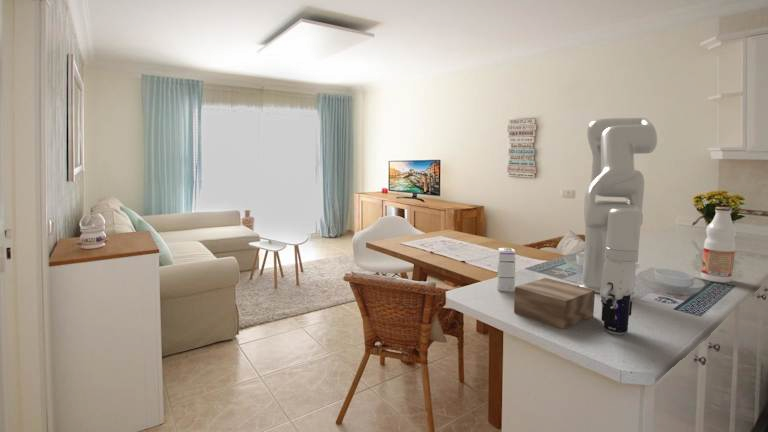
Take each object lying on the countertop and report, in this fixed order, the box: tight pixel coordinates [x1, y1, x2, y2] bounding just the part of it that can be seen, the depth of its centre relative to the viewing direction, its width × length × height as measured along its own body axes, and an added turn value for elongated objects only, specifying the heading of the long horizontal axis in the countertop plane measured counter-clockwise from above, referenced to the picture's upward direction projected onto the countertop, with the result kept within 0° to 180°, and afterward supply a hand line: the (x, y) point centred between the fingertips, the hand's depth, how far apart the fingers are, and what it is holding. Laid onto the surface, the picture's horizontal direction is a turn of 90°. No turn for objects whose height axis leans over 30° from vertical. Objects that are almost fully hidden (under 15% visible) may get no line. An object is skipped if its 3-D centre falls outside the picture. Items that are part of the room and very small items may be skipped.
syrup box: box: [496, 247, 516, 293], centre depth 149 cm, size 6×6×14 cm
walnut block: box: [513, 277, 596, 330], centre depth 125 cm, size 16×16×8 cm
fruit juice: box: [700, 206, 738, 284], centre depth 160 cm, size 9×9×28 cm
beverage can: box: [603, 290, 631, 336], centre depth 112 cm, size 6×6×12 cm
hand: (616, 317), depth 113 cm, fingers open, 8 cm apart
